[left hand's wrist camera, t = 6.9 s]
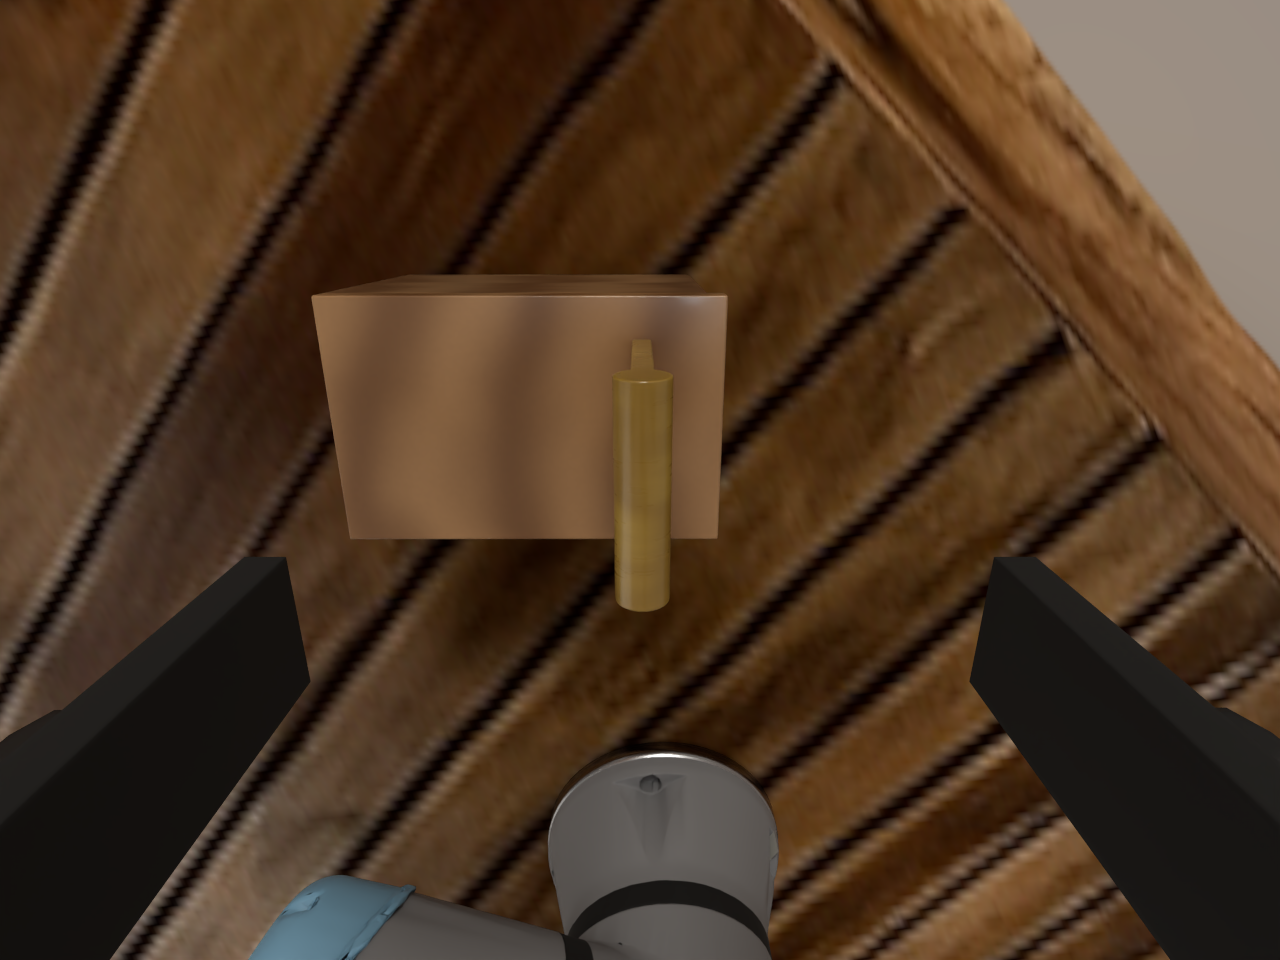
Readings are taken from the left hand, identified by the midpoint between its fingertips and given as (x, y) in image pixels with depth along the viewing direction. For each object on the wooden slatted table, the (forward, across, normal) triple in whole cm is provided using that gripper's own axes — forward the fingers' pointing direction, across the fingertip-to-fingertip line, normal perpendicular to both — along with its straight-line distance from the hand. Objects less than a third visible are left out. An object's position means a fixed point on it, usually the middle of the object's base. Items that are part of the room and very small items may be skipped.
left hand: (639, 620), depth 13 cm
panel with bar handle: (+15, +4, 0) cm, 15 cm away
